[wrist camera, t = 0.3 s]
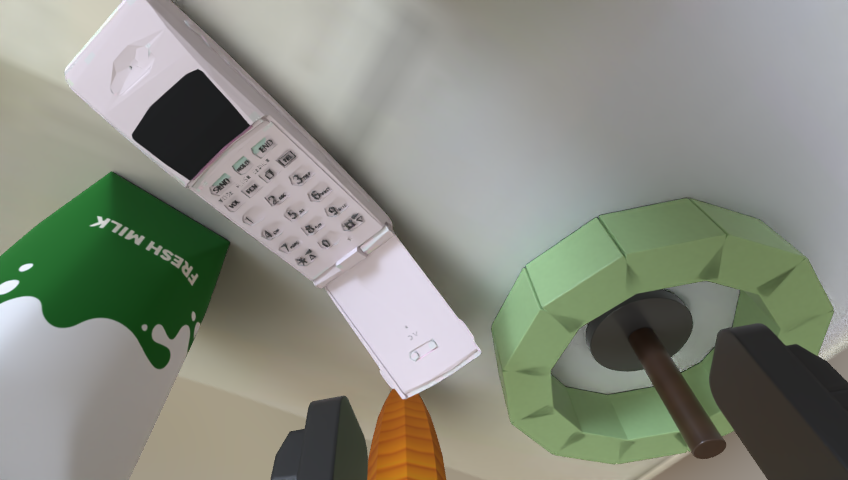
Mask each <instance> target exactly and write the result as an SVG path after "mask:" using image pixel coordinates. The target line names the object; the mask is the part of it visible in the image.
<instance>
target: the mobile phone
mask: <svg viewBox="0 0 848 480" xmlns="http://www.w3.org/2000/svg"><path fill="white" fill-rule="evenodd" d="M65 78H66V82H67V83H68V85H69V87H70V88H71V89H72V90H73V91H74V92H75V93H76V94H77V95H78V96H79V97H80V98H81V99H83V100H84V101H85V102H86V103H87V104H88V105H89V106H90V107H91V108H92V109H93V110H94V111H96V112H97V113H98V114H99V115H100V116H101V117H102V118H104V119H105V120H106V121H107V122H108V123H109V124H110V125H112V126H113V127H114V128H115V129H116V130H117V131H118V132H120V133H121V134H122V135H123V136H124V137H125V138H126V139H128V140H129V141H130V142H131V143H132V144H133V145H134V146H136V147H137V148H138V149H139V150H140V151H141V152H143V153H144V154H145V155H146V156H147V157H149V158H150V159H151V160H152V161H154V162H155V163H156V164H157V165H158V166H160V167H161V168H162V169H163V170H165V171H166V172H167V173H168V174H169V175H171V176H172V177H173V178H174V179H176V180H177V181H178V182H179V183H180V184H182V185H183V186H184V187H185V188H189V189H191V190H192V191H193V192H194V193H196V194H197V195H198V196H199V197H201V198H202V199H203V200H205V201H206V202H207V203H208V204H210V205H211V206H212V207H214V208H215V209H216V210H217V211H219V212H220V213H221V214H223V215H224V216H225V217H226V218H228V219H229V220H231V221H232V222H233V223H235V224H236V225H237V226H239V227H240V228H241V229H243V230H244V231H245V232H247V233H248V234H249V235H251V236H252V237H253V238H255V239H256V240H257V241H259V242H260V243H261V244H263V245H264V246H265V247H267V248H268V249H269V250H271V251H272V252H273V253H275V254H276V255H277V256H279V257H280V258H281V259H283V260H284V261H285V262H287V263H288V264H290V265H291V266H292V267H294V268H295V269H296V270H298V271H299V272H300V273H302V274H303V275H304V276H306V277H307V278H308V279H310V280H311V281H313V282H314V285H315V286H316V287H318V288H323V287H324V289H325V290H326V292H327V293H328V295H329V296H330V297H331V299H332V300H333V302H334V303H335V305H336V306H337V307H338V309H339V310H340V312H341V313H342V315H343V316H344V318H345V319H346V320H347V322H348V323H349V325H350V326H351V328H352V329H353V330H354V332H355V333H356V335H357V336H358V338H359V339H360V341H361V342H362V343H363V345H364V346H365V348H366V349H367V351H368V352H369V353H370V355H371V356H372V358H373V359H374V361H375V362H376V363H377V365H378V367H379V368H380V374H381V375H382V377H383V378H384V379H385V381H386V382H387V383H388V385H389V386H390V387H391V388H392V389H395V390H396V391H397V393H398V394H399V395H400V397H401V398H402V399H407V398H409V397H411V396H413V395H415V394H417V393H419V392H421V391H423V390H425V389H427V388H429V387H431V386H433V385H435V384H437V383H438V382H440V381H442V380H444V379H445V378H447V377H448V376H450V375H452V374H453V373H455V372H456V371H458V370H459V369H461V368H462V367H464V366H465V365H467V364H468V363H469V362H471V361H472V360H474V359H475V358H476V357H478V356H479V355H481V354H482V352H481V350H480V349H479V347H478V346H477V344H476V343H475V342H474V336H473V334H472V333H471V331H470V330H469V329H468V327H467V326H466V324H465V323H464V322H463V321H462V320H459V319H458V317H457V316H456V314H455V313H454V312H453V310H452V309H451V307H450V306H449V305H448V303H447V302H446V301H445V299H444V298H443V297H442V295H441V294H440V293H439V291H438V290H437V289H436V287H435V286H434V285H433V284H432V282H431V281H430V280H429V278H428V277H427V276H426V274H425V273H424V272H423V270H422V269H421V268H420V266H419V265H418V264H417V262H416V261H415V260H414V258H413V257H412V256H411V254H410V253H409V252H408V250H407V249H406V248H405V246H404V245H403V244H402V242H401V241H400V240H399V238H398V237H397V236H396V234H395V233H394V232H393V225H392V221H391V220H390V218H389V216H388V215H387V214H386V213H385V212H384V211H383V210H382V209H381V207H380V206H379V205H378V204H377V203H376V202H375V201H374V200H373V199H372V198H371V197H370V196H369V195H368V194H367V193H366V192H365V191H364V190H363V188H362V187H361V186H360V185H359V184H358V183H357V182H356V181H355V180H354V179H353V178H352V177H351V176H350V175H349V174H348V173H347V172H346V171H345V170H344V169H343V168H342V167H341V166H340V165H339V164H338V163H337V162H336V160H335V159H334V158H333V157H332V156H331V155H330V154H329V153H328V152H327V151H326V150H325V149H324V148H323V147H322V146H321V145H320V144H319V143H318V142H317V141H316V140H315V139H314V138H313V137H312V136H311V135H310V134H309V133H308V132H307V131H306V130H305V129H304V128H303V127H302V126H301V125H300V124H299V123H298V122H297V121H296V120H295V119H294V118H293V117H292V116H291V115H290V114H289V113H288V112H287V111H286V110H285V109H284V108H283V107H282V106H281V105H280V104H279V103H278V102H276V101H275V100H274V99H273V98H272V97H271V96H270V95H269V94H268V93H267V92H266V91H265V90H264V89H263V88H262V87H261V86H260V85H259V84H258V83H257V82H256V81H255V80H254V79H253V78H252V77H251V76H250V75H249V74H248V73H247V72H246V71H245V70H244V69H243V68H242V67H241V66H240V65H239V64H238V63H237V62H236V61H235V60H234V59H233V58H232V57H231V56H230V55H229V54H228V53H227V52H226V51H225V50H224V49H223V48H221V47H220V46H219V45H218V44H217V43H216V42H215V41H214V40H213V39H212V38H211V37H210V36H208V35H207V34H206V33H205V32H204V31H203V30H202V29H201V28H200V27H199V26H198V25H197V24H195V23H194V22H193V21H192V20H191V19H190V18H189V17H188V16H187V15H186V14H185V13H184V12H182V11H181V10H180V9H179V8H178V7H177V6H176V5H175V4H174V3H173V2H172V1H171V0H123V1H122V3H121V4H120V5H119V6H118V7H117V8H116V10H115V11H114V12H113V13H112V14H111V16H110V17H109V18H108V19H107V20H106V21H105V23H104V24H103V25H102V26H101V27H100V28H99V30H98V31H97V32H96V33H95V34H94V35H93V37H92V38H91V39H90V40H89V41H88V42H87V44H86V45H85V46H84V47H83V48H82V49H81V51H80V52H79V53H78V54H77V55H76V56H75V58H74V59H73V60H72V61H71V62H70V63H69V65H68V66H67V67H66V70H65Z"/></svg>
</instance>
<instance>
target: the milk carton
mask: <svg viewBox="0 0 848 480" xmlns="http://www.w3.org/2000/svg"><path fill="white" fill-rule="evenodd" d="M229 244H230V242H229V241H228V240H226V239H224V238H223V237H221V236H219V235H217V234H216V233H214V232H212V231H211V230H209V229H207V228H206V227H204V226H202V225H201V224H199V223H197V222H196V221H194V220H192V219H191V218H189V217H187V216H186V215H184V214H182V213H181V212H179V211H177V210H176V209H174V208H172V207H170V206H169V205H167V204H165V203H164V202H162V201H160V200H159V199H157V198H155V197H154V196H152V195H150V194H149V193H147V192H145V191H144V190H142V189H140V188H139V187H137V186H135V185H134V184H132V183H130V182H128V181H127V180H125V179H123V178H122V177H120V176H118V175H117V174H115V173H114V172H112V171H111V172H110V173H109V174H107V175H106V176H105V177H103V178H102V179H100V180H99V181H98V182H96V183H95V184H93V185H92V186H91V187H89V188H88V189H86V190H85V191H84V192H82V193H81V194H79V195H78V196H77V197H75V198H74V199H72V200H71V201H70V202H68V203H67V204H65V205H64V206H63V207H61V208H60V209H59V210H57V211H56V212H54V213H53V214H52V215H50V216H49V217H47V218H46V219H45V220H43V221H42V222H41V223H39V224H38V225H37V226H35V227H34V228H33V229H32V230H31V231H29V232H28V233H27V234H26V235H25V236H23V237H22V238H21V239H20V240H19V241H18V242H16V243H15V244H14V245H13V246H12V247H10V248H9V249H8V250H7V251H6V252H5V253H4V254H2V255H1V256H0V480H129V478H130V476H131V474H132V472H133V470H134V468H135V466H136V464H137V462H138V459H139V457H140V455H141V453H142V451H143V449H144V446H145V444H146V442H147V440H148V438H149V436H150V434H151V432H152V429H153V427H154V425H155V423H156V421H157V418H158V416H159V414H160V412H161V410H162V408H163V406H164V403H165V401H166V399H167V397H168V395H169V393H170V391H171V388H172V386H173V384H174V382H175V380H176V378H177V375H178V373H179V371H180V369H181V367H182V365H183V362H184V360H185V358H186V356H187V354H188V352H189V350H190V347H191V345H192V343H193V341H194V338H195V336H196V334H197V332H198V329H199V327H200V325H201V322H202V320H203V318H204V315H205V313H206V310H207V308H208V305H209V302H210V299H211V296H212V293H213V291H214V288H215V285H216V282H217V279H218V276H219V273H220V270H221V267H222V264H223V261H224V258H225V256H226V253H227V250H228V247H229Z"/></svg>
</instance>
